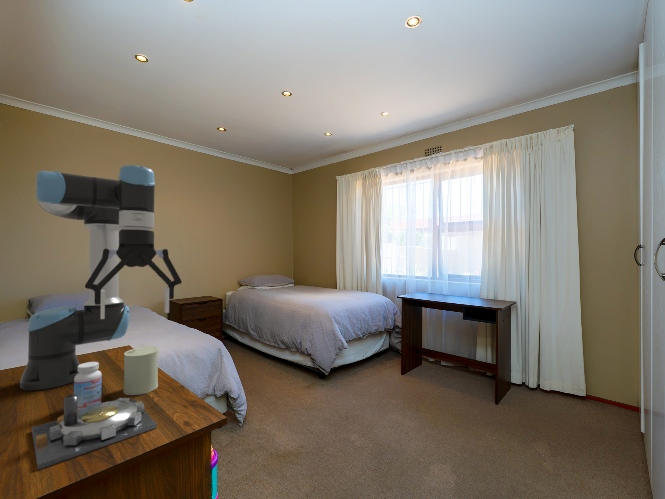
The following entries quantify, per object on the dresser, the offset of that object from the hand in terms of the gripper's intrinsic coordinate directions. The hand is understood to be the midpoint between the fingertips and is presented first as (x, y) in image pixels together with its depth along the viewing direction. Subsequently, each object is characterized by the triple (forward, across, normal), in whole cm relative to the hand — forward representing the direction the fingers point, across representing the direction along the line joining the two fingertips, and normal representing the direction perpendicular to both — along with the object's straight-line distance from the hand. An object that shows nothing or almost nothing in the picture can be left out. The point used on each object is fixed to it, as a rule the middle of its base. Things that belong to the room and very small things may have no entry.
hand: (136, 315), depth 80 cm
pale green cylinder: (+27, +3, +22) cm, 34 cm away
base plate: (+26, -7, +1) cm, 27 cm away
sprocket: (+25, -7, +1) cm, 26 cm away
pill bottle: (+27, -10, +17) cm, 33 cm away
